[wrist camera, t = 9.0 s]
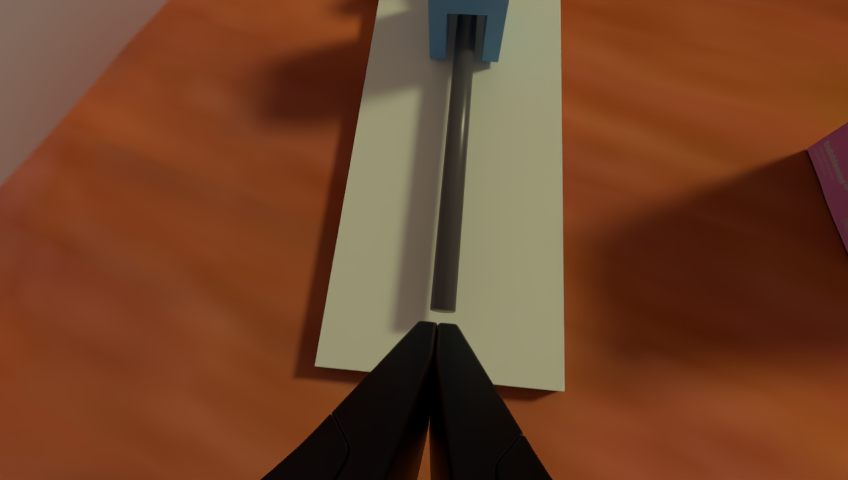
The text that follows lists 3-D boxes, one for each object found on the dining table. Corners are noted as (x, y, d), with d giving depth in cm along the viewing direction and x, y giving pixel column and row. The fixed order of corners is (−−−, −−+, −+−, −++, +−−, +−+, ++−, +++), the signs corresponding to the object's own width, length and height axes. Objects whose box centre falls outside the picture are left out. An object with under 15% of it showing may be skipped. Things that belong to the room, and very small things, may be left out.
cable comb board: (558, 391, 21) (603, 391, 15) (321, 367, 22) (278, 358, 16) (555, -49, 31) (581, -150, 26) (393, -55, 32) (382, -154, 26)
